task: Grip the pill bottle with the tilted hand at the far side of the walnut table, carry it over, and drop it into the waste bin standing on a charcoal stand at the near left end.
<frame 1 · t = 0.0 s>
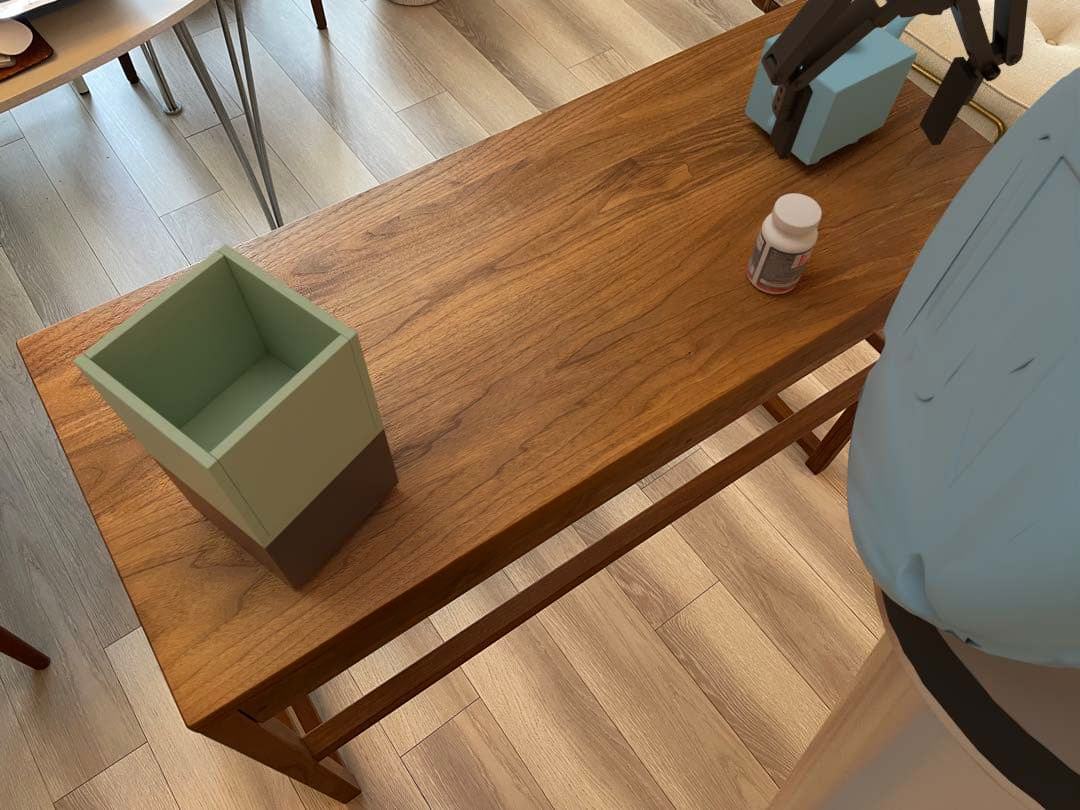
hand: (854, 141, 68), 21 cm above the table, tool pointing down, fingers open, 13 cm apart
pill bottle: (770, 277, 88), on the table
waste bin: (268, 441, 64), on the table
teapot: (818, 127, 101), on the table
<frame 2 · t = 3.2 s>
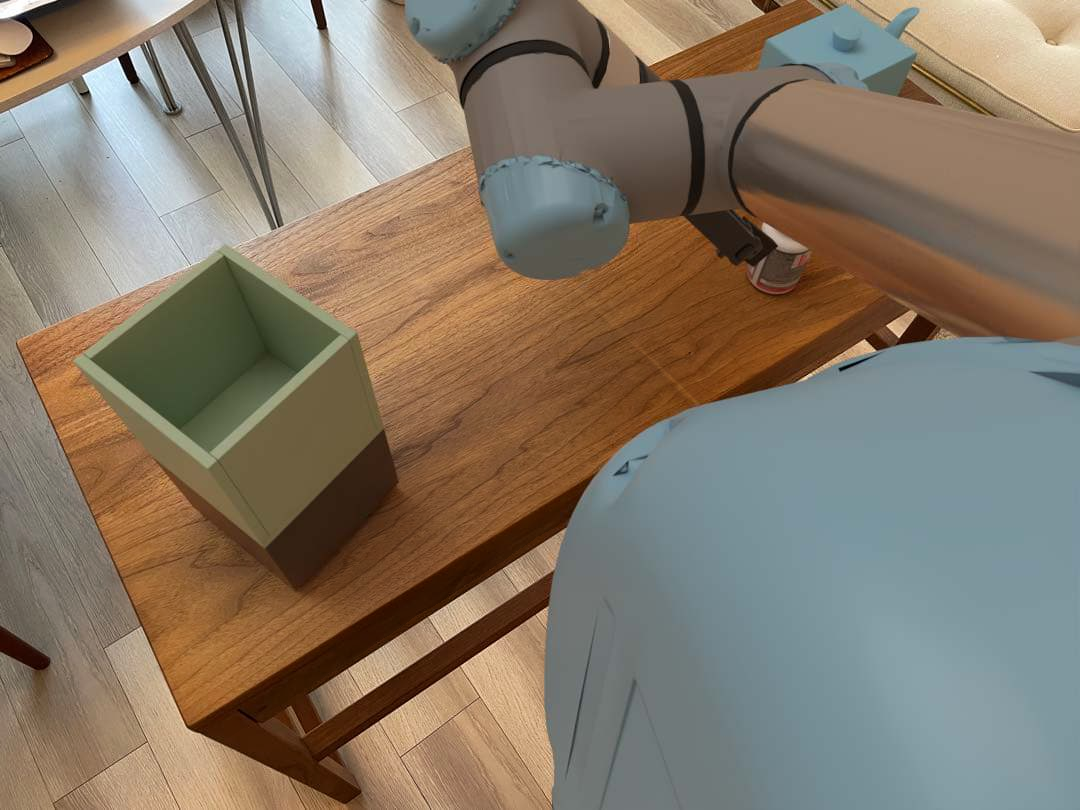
hand: (723, 200, 72), 15 cm above the table, tool tilted 45°, fingers open, 13 cm apart
nothing on the table moved.
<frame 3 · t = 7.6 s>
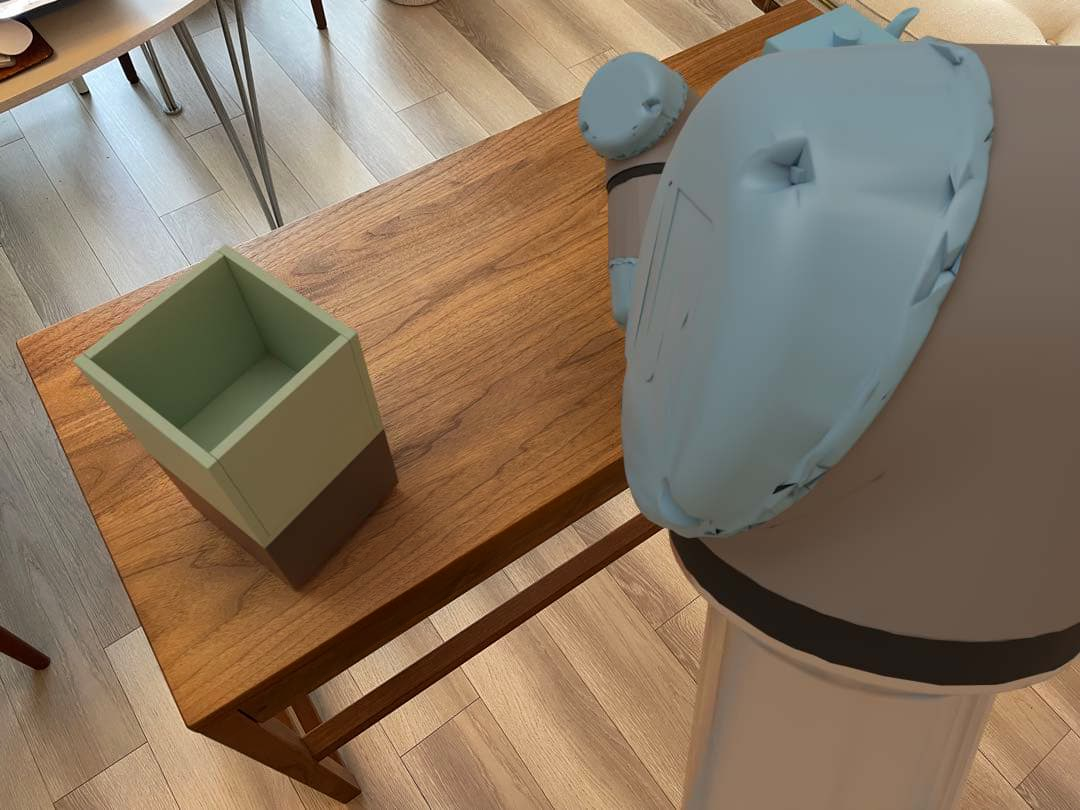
hand: (807, 244, 86), 3 cm above the table, tool tilted 45°, fingers closed on pill bottle, 6 cm apart
pill bottle: (770, 277, 88), on the table, touching gripper
everything else where it was.
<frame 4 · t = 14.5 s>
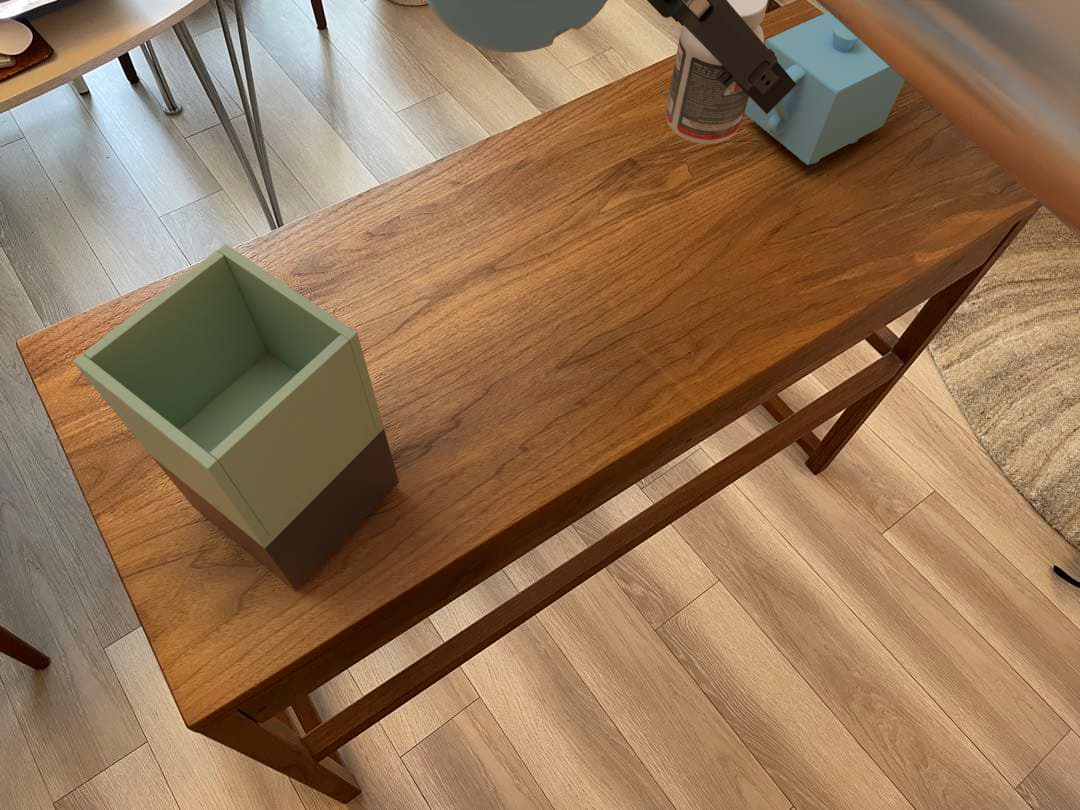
hand: (753, 70, 58), 30 cm above the table, tool tilted 45°, fingers closed on pill bottle, 6 cm apart
pill bottle: (701, 123, 60), point 27 cm above the table, touching gripper
everything else where it was.
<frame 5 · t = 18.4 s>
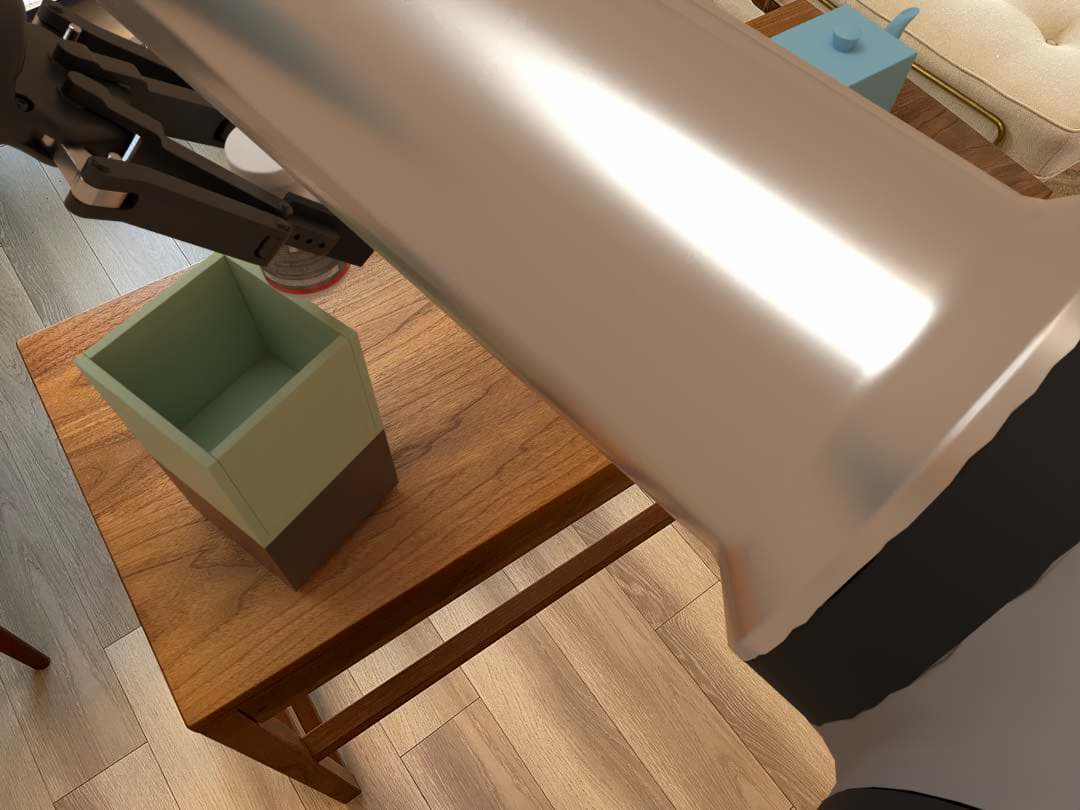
hand: (353, 211, 49), 30 cm above the table, tool tilted 45°, fingers closed on pill bottle, 6 cm apart
pill bottle: (309, 268, 51), point 27 cm above the table, touching gripper
everything else where it was.
when the fingers open (24 cm above the table, at t = 21.4 s): pill bottle drops 9 cm, resting on waste bin.
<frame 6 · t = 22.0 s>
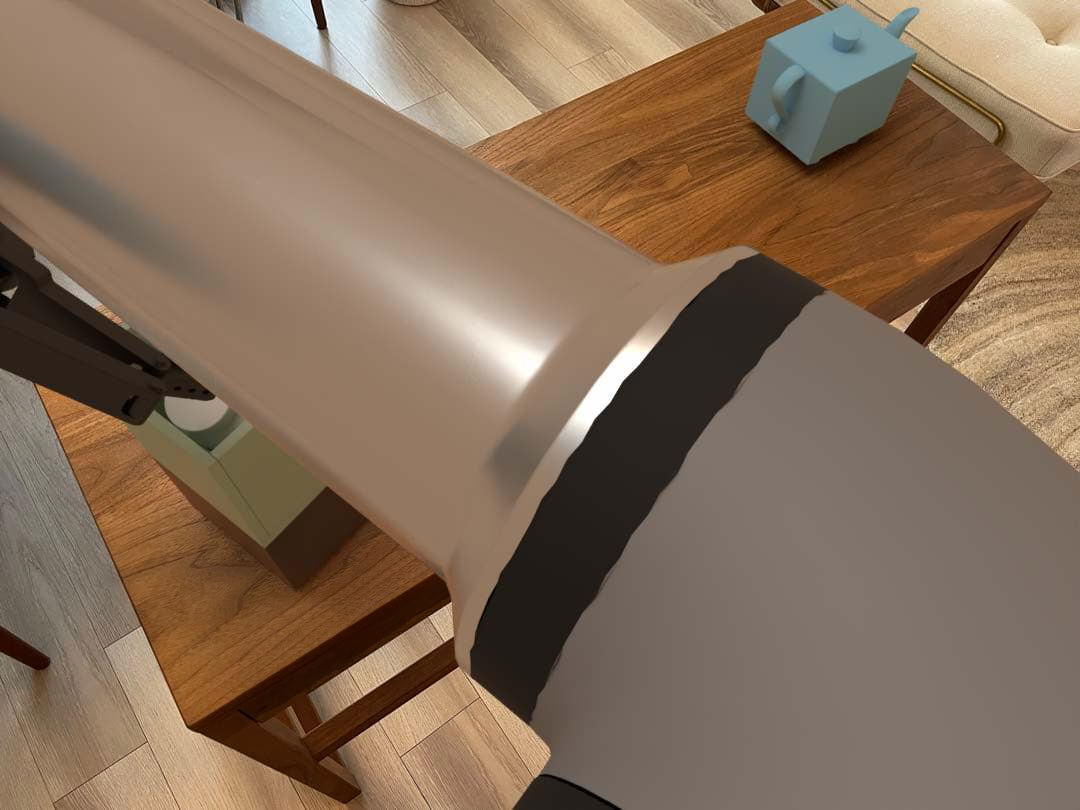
hand: (236, 300, 50), 27 cm above the table, tool tilted 45°, fingers open, 13 cm apart
pill bottle: (261, 431, 62), point 12 cm above the table, touching waste bin
everything else where it was.
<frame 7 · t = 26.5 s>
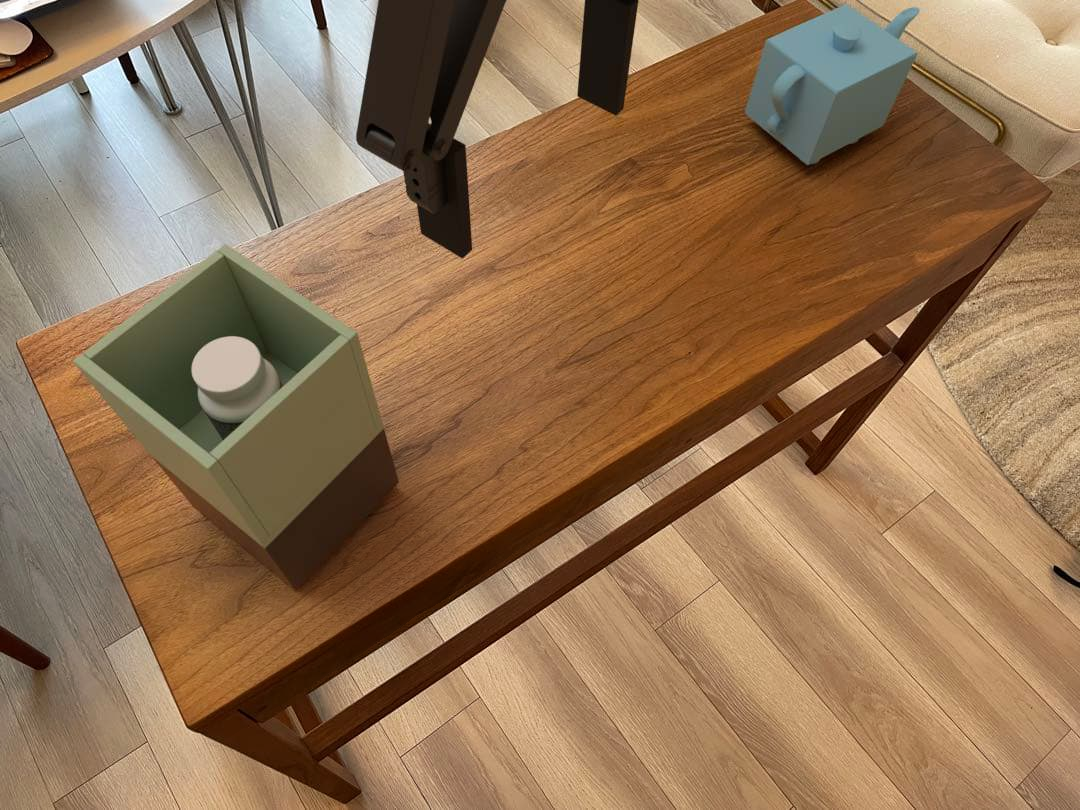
hand: (528, 168, 43), 37 cm above the table, tool pointing down, fingers open, 13 cm apart
at the end: pill bottle inside the target area on the waste bin (0.0 cm from its centre), point 0.8 cm above the waste bin's base; the gripper is holding nothing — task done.
